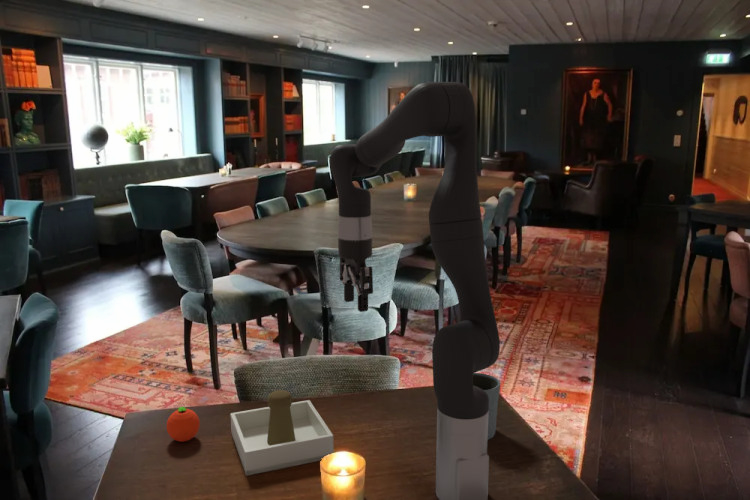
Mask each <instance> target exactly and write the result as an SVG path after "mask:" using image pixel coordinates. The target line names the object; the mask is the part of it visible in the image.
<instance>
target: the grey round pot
mask: <svg viewBox="0 0 750 500" xmlns="http://www.w3.org/2000/svg"><path fill="white" fill-rule="evenodd" d="M473 386H476V387H479V388H481V389H483V390H484V391H485V392H486V393H487V395H488V397H489V413H488V438H487V441H488V440H490V439H493V437H494V436H495V435H496V429H497V413H498V405H499V403H498V402H499V397H500V389H501V381H500V380H499V379H498V378H497V377H495V376H494V375H490V374H486V373H480V372H475V373H473Z"/></svg>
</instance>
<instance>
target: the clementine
mask: <svg viewBox="0 0 750 500" xmlns="http://www.w3.org/2000/svg"><path fill="white" fill-rule="evenodd" d="M200 423H201V422H200V418H199V416H198V415H197V413H196V412H195V411H194V410H192V409H189V408H186V407H185V406H181V407H180V406H179V407H178V409H177V410H175V411H174V412H172V413H171V415H170V416H169V417H168V419H167V421H166V431H167V434H168V435H169V437H170V438H171V439H172V440H175V441H176V442H188V441H190V440H192V439H193V438H194V437H196V435H197V434H198V432H199V429H200Z"/></svg>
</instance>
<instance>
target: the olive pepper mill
mask: <svg viewBox="0 0 750 500" xmlns="http://www.w3.org/2000/svg"><path fill="white" fill-rule="evenodd" d="M266 401H267V407H269V408H270V418H269V428H268V438H267V443H268V445H270V446H271V445H276V444H281V443H287V442H292V441H295V440H296V439H295V434H294V428H293V422H292V416H291V411H290V406H291V404H292V403H293V396H292V394H291V393H290V392H289V391H287V390H284V389H278V390H274V391H272V392H271V393H269V394H268V397H267V400H266Z"/></svg>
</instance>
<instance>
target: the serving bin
mask: <svg viewBox="0 0 750 500" xmlns="http://www.w3.org/2000/svg"><path fill="white" fill-rule="evenodd" d="M290 411H291V416H292V422H293V428H294V434H295V439H296V440H295V441H292V442H287V443H281V444H276V445H271V446H270V445H268V443H267V438H268V428H269V418H270V408H269V406H267V407H266V406H265V407H260V408H254V409H249V410H243V411H235V412H231V413H230V427H231V428H230V429H231V436H232V439H233V442H234V445H235V448H236V451H237V453H238V455H239V460H240V463H241V465H242V467H243V470H244V473H245V476H246V477H247V476H251V475H257V474H262V473H267V472H272V471H276V470H281V469H286V468H291V467H294V466H295V467H296V466H300V465H301V466H302V465H306V464H310V463H316V462H319V461H320V459H321V458H323V457H324V456H326V455H328V454H331V453H334V448H335V447H334V434H333V433H332V431H331V430H330V428H329V427H328V425H327V423H326V422H325V421H324V419H323V418H322V417H321V415H320V414H319V412H318V410H317V409H316V408H315V406H314V405H313V403H312V402H311V400H310V399H307V400H302V401H296V402H292V404H291V406H290Z"/></svg>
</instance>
